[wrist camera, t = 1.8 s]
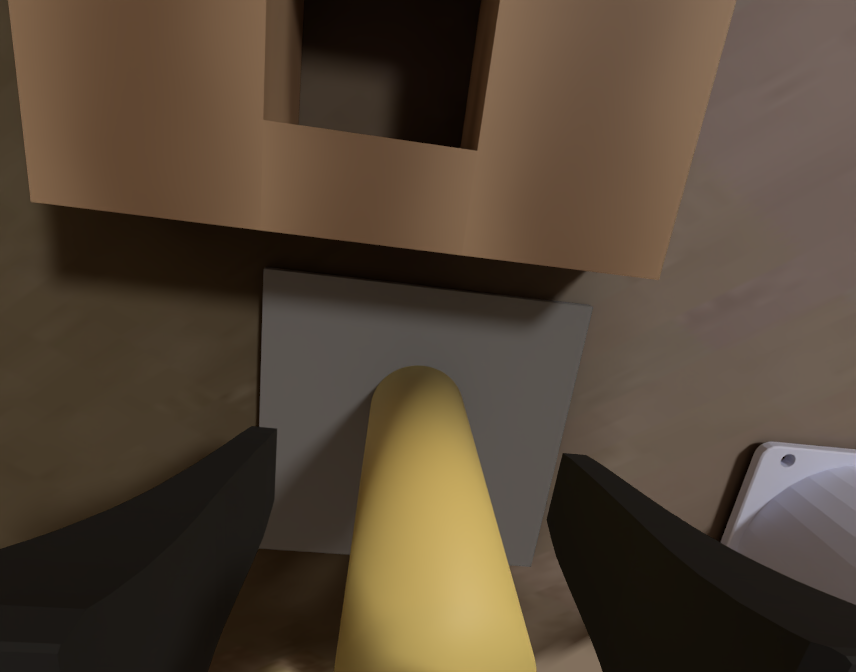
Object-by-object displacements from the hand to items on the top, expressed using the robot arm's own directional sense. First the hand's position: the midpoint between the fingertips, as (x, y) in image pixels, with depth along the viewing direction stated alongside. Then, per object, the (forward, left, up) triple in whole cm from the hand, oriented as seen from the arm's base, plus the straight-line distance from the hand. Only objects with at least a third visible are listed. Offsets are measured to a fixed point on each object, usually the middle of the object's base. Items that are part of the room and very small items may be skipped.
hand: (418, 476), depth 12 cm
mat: (0, +1, -4) cm, 4 cm away
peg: (0, 0, -4) cm, 4 cm away
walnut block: (+2, -10, -4) cm, 11 cm away
